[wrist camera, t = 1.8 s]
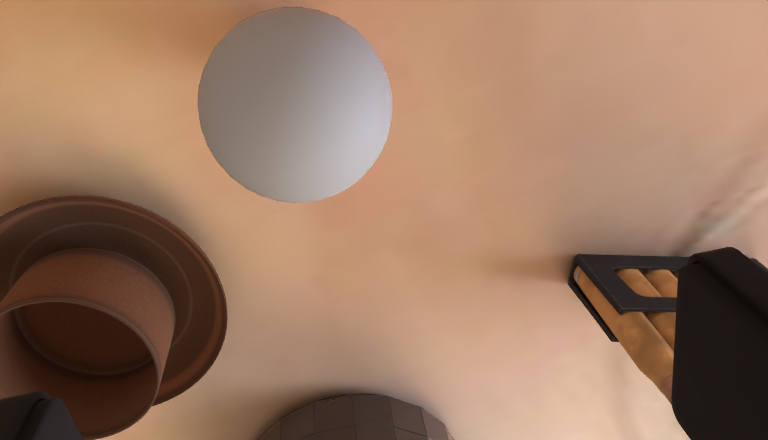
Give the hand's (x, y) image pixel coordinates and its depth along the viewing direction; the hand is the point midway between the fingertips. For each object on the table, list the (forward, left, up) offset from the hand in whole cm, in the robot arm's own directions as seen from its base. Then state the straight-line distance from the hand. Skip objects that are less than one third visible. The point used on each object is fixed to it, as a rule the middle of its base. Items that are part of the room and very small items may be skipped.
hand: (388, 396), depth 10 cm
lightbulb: (-1, -1, -21) cm, 21 cm away
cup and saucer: (+9, -13, -21) cm, 26 cm away
